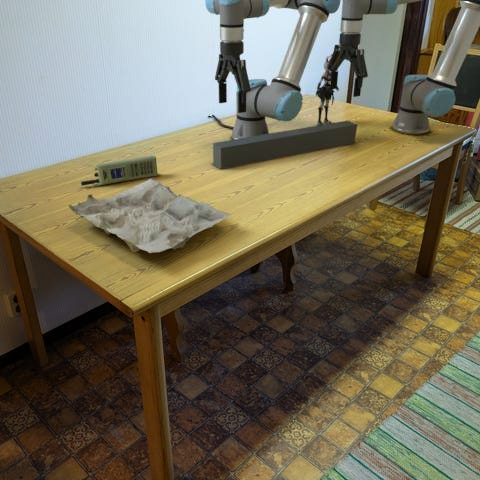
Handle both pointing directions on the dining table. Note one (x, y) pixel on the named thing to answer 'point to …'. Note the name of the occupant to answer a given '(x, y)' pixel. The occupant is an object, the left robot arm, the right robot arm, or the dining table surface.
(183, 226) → the grey pulp egg tray
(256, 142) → the beam
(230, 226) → the dining table surface
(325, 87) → the figurine
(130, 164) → the handheld radio
